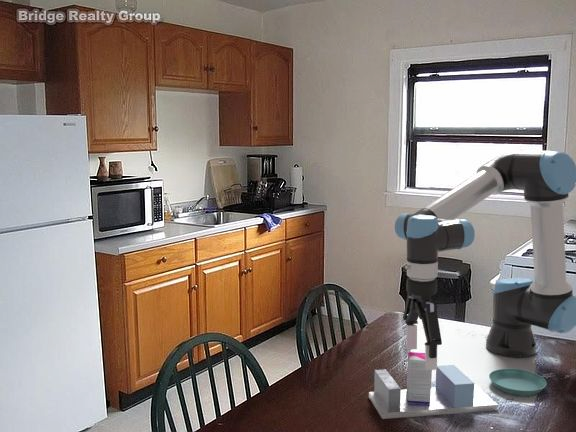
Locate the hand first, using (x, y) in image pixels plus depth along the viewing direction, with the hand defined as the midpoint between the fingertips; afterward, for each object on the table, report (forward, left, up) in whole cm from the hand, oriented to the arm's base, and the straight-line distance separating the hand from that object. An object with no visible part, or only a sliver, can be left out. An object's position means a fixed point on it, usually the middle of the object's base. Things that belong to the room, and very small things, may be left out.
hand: (420, 358), depth 148 cm
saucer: (-30, -6, -13) cm, 33 cm away
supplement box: (0, 0, -11) cm, 11 cm away
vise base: (-3, 0, -12) cm, 13 cm away
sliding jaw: (-9, 0, -11) cm, 14 cm away
